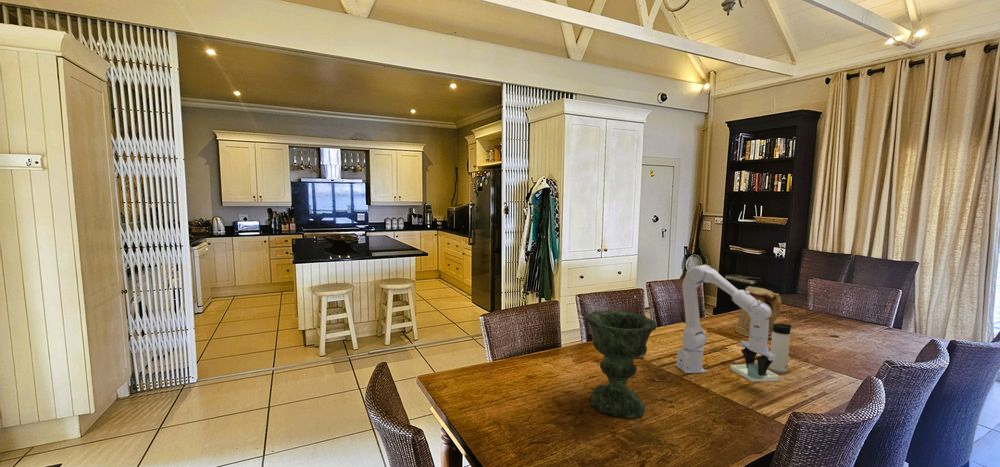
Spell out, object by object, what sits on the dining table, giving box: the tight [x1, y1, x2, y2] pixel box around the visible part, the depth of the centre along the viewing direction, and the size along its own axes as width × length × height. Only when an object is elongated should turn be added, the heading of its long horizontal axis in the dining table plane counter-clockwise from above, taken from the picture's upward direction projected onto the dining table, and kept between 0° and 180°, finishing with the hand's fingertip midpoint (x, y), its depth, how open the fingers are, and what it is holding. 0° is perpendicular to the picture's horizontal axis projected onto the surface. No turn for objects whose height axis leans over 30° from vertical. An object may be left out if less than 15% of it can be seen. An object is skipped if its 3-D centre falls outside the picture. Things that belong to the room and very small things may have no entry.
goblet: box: [584, 310, 658, 419], centre depth 138 cm, size 22×22×30 cm
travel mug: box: [768, 323, 792, 375], centre depth 169 cm, size 6×7×20 cm
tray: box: [730, 363, 780, 383], centre depth 165 cm, size 12×12×2 cm
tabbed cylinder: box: [747, 362, 768, 379], centre depth 151 cm, size 7×5×4 cm
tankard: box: [734, 286, 782, 340], centre depth 214 cm, size 18×24×25 cm
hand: (755, 371), depth 151 cm, fingers closed on tabbed cylinder, 5 cm apart
